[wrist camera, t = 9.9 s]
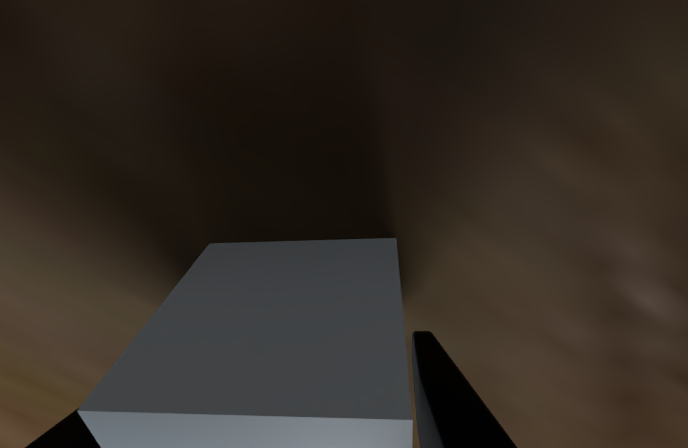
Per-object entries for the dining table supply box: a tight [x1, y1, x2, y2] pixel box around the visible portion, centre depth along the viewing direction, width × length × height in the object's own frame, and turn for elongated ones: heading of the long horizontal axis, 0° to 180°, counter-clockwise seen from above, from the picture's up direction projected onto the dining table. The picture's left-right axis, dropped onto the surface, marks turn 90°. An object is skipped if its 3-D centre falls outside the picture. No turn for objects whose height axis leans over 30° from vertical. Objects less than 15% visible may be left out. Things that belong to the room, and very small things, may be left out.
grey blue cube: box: [77, 238, 413, 448], centre depth 8 cm, size 4×4×4 cm
